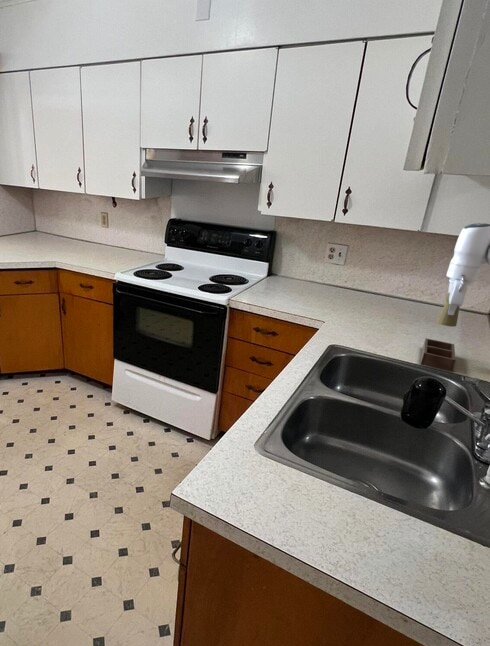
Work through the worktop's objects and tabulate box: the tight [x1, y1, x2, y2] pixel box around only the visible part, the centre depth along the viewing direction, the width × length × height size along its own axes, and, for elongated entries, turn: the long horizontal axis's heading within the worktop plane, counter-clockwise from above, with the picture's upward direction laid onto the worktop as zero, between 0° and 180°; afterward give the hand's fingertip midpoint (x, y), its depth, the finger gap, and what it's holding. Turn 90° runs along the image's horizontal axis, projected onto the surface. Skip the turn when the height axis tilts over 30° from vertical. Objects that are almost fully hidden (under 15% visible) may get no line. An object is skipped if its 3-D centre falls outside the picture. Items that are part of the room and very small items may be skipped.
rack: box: [420, 338, 456, 373], centre depth 149 cm, size 9×17×5 cm, turn 148°
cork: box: [436, 293, 461, 328], centre depth 146 cm, size 6×6×11 cm
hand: (450, 312), depth 147 cm, fingers closed on cork, 4 cm apart
